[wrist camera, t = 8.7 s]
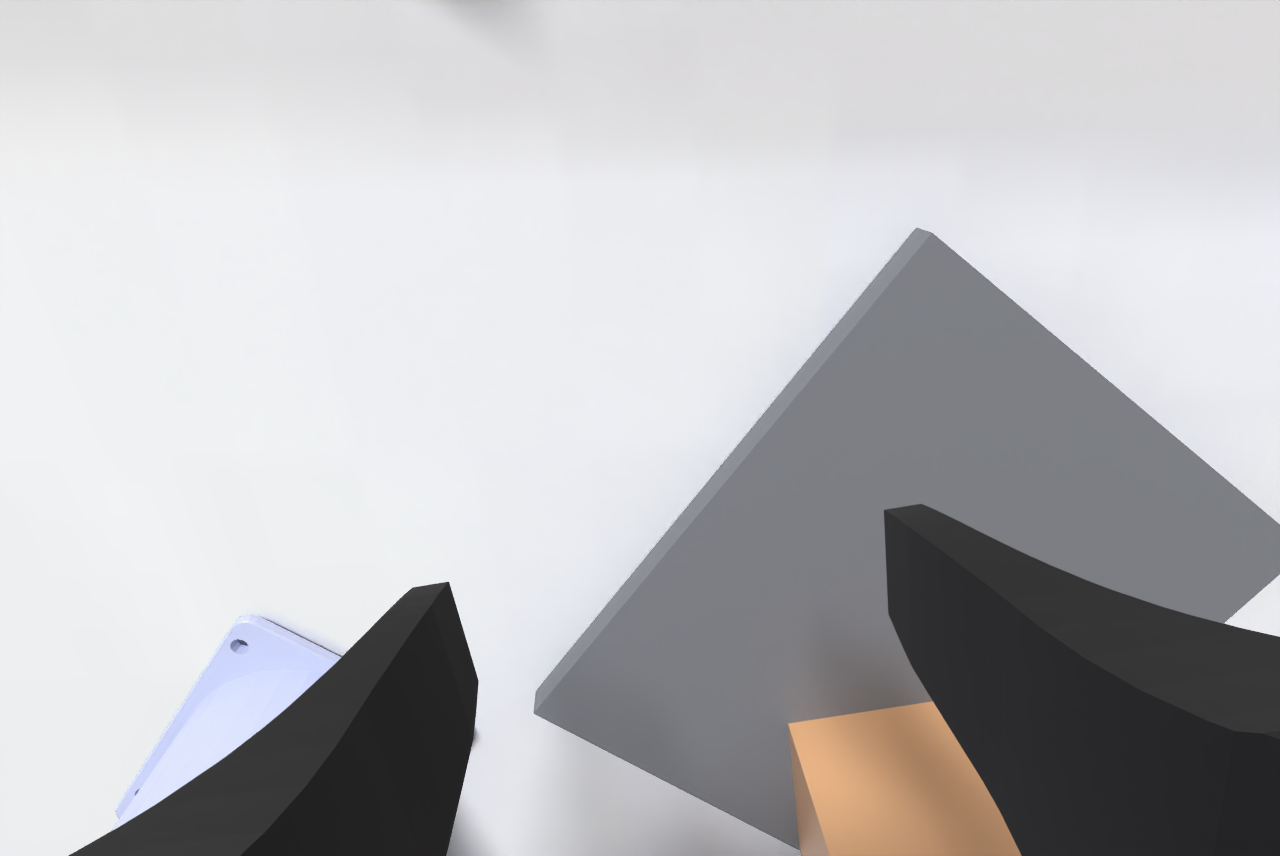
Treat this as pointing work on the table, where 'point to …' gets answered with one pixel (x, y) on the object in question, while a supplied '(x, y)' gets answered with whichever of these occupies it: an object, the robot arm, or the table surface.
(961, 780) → the orange cube
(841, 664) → the duct panel
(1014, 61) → the table surface
